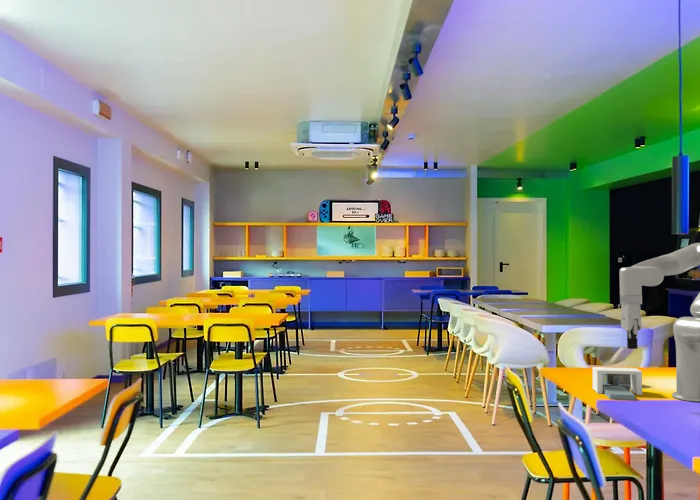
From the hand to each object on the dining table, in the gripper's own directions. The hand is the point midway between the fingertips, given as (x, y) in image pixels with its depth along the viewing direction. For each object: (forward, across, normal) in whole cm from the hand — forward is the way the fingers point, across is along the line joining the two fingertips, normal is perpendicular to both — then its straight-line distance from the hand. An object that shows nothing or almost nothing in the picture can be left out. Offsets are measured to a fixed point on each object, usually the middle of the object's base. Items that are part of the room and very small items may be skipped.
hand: (632, 348), depth 227 cm
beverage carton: (+21, -33, +3) cm, 40 cm away
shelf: (+21, -20, -1) cm, 28 cm away
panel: (+21, -13, -2) cm, 25 cm away
